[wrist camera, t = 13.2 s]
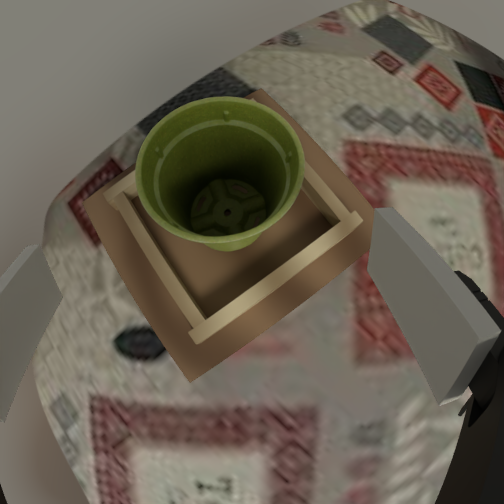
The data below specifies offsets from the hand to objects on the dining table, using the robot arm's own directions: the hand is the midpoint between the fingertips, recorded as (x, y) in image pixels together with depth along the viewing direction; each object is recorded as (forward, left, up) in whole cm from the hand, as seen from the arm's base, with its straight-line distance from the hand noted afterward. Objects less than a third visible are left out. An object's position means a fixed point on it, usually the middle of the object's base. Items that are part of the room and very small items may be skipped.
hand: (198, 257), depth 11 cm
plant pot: (-4, -5, -13) cm, 14 cm away
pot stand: (-4, -5, -14) cm, 15 cm away
